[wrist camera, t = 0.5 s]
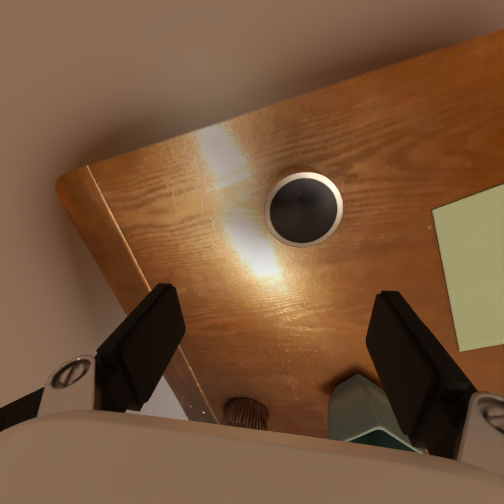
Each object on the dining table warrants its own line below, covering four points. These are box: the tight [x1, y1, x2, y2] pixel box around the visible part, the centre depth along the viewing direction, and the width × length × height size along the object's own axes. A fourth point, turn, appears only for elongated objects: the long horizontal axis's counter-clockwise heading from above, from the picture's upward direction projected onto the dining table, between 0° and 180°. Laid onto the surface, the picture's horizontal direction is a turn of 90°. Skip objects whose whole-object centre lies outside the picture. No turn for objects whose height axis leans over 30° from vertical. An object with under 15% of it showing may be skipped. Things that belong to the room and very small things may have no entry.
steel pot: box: [264, 166, 343, 247], centre depth 21 cm, size 7×7×6 cm
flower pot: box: [328, 374, 427, 454], centre depth 32 cm, size 9×9×9 cm
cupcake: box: [220, 398, 268, 431], centre depth 39 cm, size 10×10×10 cm
